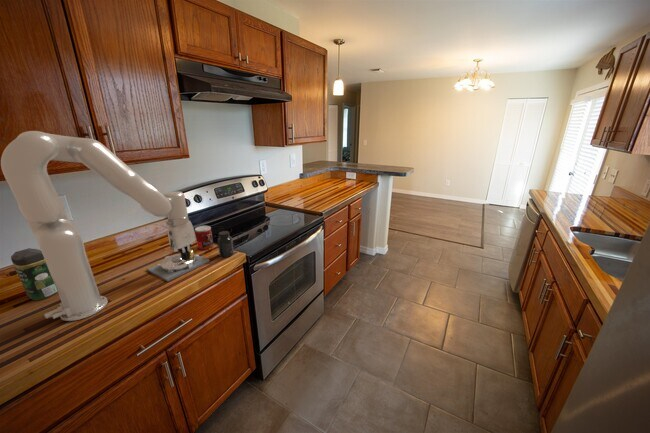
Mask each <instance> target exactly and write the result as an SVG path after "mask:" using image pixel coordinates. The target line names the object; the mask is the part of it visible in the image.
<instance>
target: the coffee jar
mask: <svg viewBox="0 0 650 433" xmlns="http://www.w3.org/2000/svg"><path fill="white" fill-rule="evenodd" d="M10 259H11V262H12V265H13V267H14V269H15V272H16V273H17V276H18V278H19V280H20V283H21V285H22V287H23V289H24V292H25V293H26V295H27V297H28V298H29V299H31V300H33V301H41V300H44V299H47V298H50V297H53V296H54V295H55V294H58V291H57V289H56V286H55V284H54V281H53V279H52V276H51V274H50V272H49V269H48V266H47V264H46V261H45V259H44V256H43V254H42V252H41V249H37V248H30V247H29V248H26V249H21V250H17V251H15V252H14V253H13V254H11V256H10Z"/></svg>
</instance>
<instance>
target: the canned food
mask: <svg viewBox="0 0 650 433" xmlns="http://www.w3.org/2000/svg"><path fill="white" fill-rule="evenodd" d="M194 232H195V237H196V245H197V248H198V249H199V250H200V251H207V249H208V250H210V249H209V248H211V247H212V248H213V247H214V239H213V232H212V227H211V226H210V225H200V226H197V227H195V228H194ZM212 248H211V249H212Z"/></svg>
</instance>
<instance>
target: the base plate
mask: <svg viewBox="0 0 650 433" xmlns="http://www.w3.org/2000/svg"><path fill="white" fill-rule="evenodd" d="M194 255H196V253H194ZM197 257H198V260H196V261H195V263H194V264H193V267H191V268H186V269H183V270H180V271H174V272H173V273H168V272H167V271H164V270H162V269H161V270H159V268H158V264H161V262H159V263H157V264H155V265H152V266H149V267H147V268H146V271H147V272H149V273H151V274H153V275H155V276H157V277H158V278H160V279H162V280H164V281H166V282H169V281H172V280H174V279H176V278H178V277H180V276H182V275H185V274H187V273H189V272H192V271H193V270H195V269H197V268H199V267H201V266H203V265H205V263H206V264H208V263H210V262H211V260H210V259H209V258H207V257H204V256H201V255H199V254H197ZM209 261H210V262H209ZM207 262H208V263H207Z"/></svg>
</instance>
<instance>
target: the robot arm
mask: <svg viewBox="0 0 650 433" xmlns="http://www.w3.org/2000/svg"><path fill="white" fill-rule="evenodd" d="M50 161H55V162H57V161H58V162H69V163H82V164H83V165H84V166H86V168H88V169H89V170H91V171H92V172H93V173H94V174H96V175H97V176H99V177H100V178H101V179H102V180H103V181H105V182H106V183H107V184H108V185H110V186H111V187H112V188H114V189H115V190H117V191H119V192H121V193H122V194H124V195H127V197H129V198H131V199H133V200H134V201H135V202H137V203H139V204H140V207H141V209H142V210H143V211H144V212H146V213H149V214H152V215H153V216H155V217H157V218H158V217H159V218H160V217H161V218H163V217H166V216H167V220H168V221H167V222H166V225H167V226H168V227H167V237H168V243H169V246H170V248H171V252H174V253H176V252H177V253H179V254H180V253H181V258H182V260H186V261H187V260H189V259H190V256H189V250H191V246H192V245H193V244H194V243H195V242H197V239H196V234H195V228H194V225H193V224H192V222H191V220H190V219H189V215H188V214H189V213H188V209H187V208H188V207H187V203H186V196H185V194H184V193H183V191H169V192H165V193H161V191H159V190H158V189H157V188H155V187H154V186H153V185H152V184H150V183H149V182H148V181H146V180H145V179H144V178H143V177H142V176H141V175H140V174H138V172H136V171H134V169H132V168H131V167H130V166H128V164H126V163H125V162H124V161H123V160H121V158H120V157H118V156H117V155H116V154H114V153H113V152H112V151H111V150H110V149H109V148H108V147H107V146H105V145H104V144H103V143H101V142H100V141H99V140H96V139H94V138H89V137H77V136H76V137H75V136H69V135H61V134H54V133H53V134H52V133H48V132H44V131H40V130H28V131H24V132H21V133H19V135H18V136H17V137H16V138H15V139H13V140H12V141H11V142H9V143H8V145H6V147H5V148H4V150H3V152H2V154H1V158H0V167H1V171H2V174H3V177H4V178H5V181H6V182H7V184H8V186H9V189H10V190H11V192H12V195H13V196H14V198H15V200H16V202H17V206H18V210H19V211H20V213H21V214H22V216H23V217H24V219H25V221H26V223H27V224H28V226H29V229H31V231H32V232H31V233H33V235H34V237H35V238H36V241H37V244H38V247H39V250H41V252H42V254H43V256H44V259H45V261H46V264H47V266H48V269H49V272H50V274H51V276H52V279H53V281H54V284H55V286H56V289H57V291H58V292H57V294H58V296H59V299H60V301H61V302H59V305H60V306H58V307H56V309H55V308H54V309H53V310H50V311H48V312H45V313H43V315H44V318H45V319H46V320H48V319H51V318H52V319H53V320H55V319H57V318H59V317H60V319H61V320H62V321H65V322H73V321H80V320H83V319H86V318H88V317H89V318H90V317H91V316H93V315H95V314H97V313H99V312H100V311H102V310H103V309H104V308H106V307H107V305H108V302H109V301H108V298H107V297H106V296H104V295H101V294H100V292H99V291H100V290H99V289H98V285H97V282H96V279H95V277H94V273H93V270H92V268H91V265H90V262H89V258H88V255H87V253H86V248H85V244H84V241H83V238H82V235H81V234H80V232H79V231H78V230H77V228H76V227H74V225H73V224H72V222H71V220H70V218H69V216H68V214H67V212H66V210H65V209H66V208H65V204H64V202H63V199H61V198H60V196H59V194H58V192H57V191H56V188H55V186H54V185H53V184H54V183H53V182H52V180H51V178H50V174H49V173H48V168H47V167H48V164H49V162H50Z"/></svg>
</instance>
